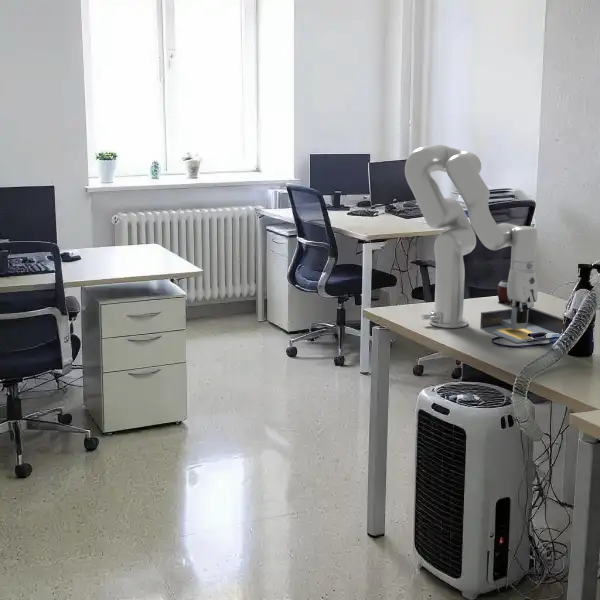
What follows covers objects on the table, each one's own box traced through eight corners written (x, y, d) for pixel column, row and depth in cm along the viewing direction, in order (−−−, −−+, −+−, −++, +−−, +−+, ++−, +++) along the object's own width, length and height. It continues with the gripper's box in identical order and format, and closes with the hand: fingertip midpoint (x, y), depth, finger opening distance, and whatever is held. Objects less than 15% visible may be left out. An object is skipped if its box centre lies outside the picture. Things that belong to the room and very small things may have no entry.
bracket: (527, 328, 291) (528, 307, 289) (514, 329, 289) (516, 308, 287) (513, 323, 297) (515, 302, 295) (500, 324, 295) (502, 303, 293)
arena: (516, 343, 281) (517, 326, 280) (480, 328, 298) (481, 312, 297) (565, 336, 289) (567, 319, 287) (527, 322, 306) (528, 306, 304)
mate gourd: (499, 305, 329) (501, 264, 325) (494, 300, 337) (496, 260, 333) (520, 305, 329) (522, 264, 326) (514, 299, 337) (516, 260, 333)
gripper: (548, 269, 280) (544, 326, 285) (517, 260, 294) (513, 315, 298) (529, 271, 277) (525, 329, 282) (497, 262, 291) (495, 317, 295)
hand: (519, 321), depth 290 cm, fingers closed on bracket
